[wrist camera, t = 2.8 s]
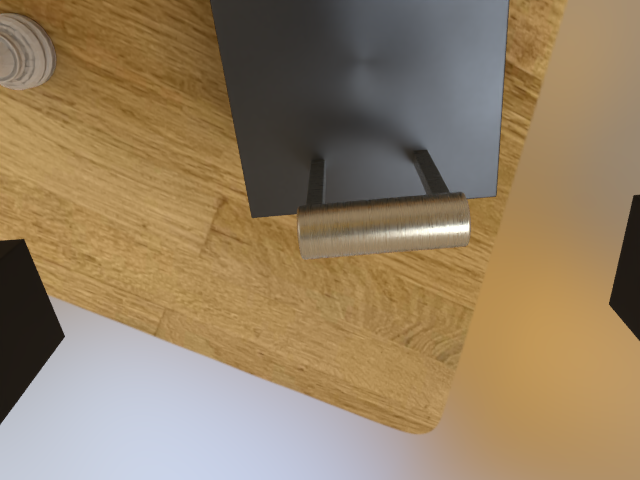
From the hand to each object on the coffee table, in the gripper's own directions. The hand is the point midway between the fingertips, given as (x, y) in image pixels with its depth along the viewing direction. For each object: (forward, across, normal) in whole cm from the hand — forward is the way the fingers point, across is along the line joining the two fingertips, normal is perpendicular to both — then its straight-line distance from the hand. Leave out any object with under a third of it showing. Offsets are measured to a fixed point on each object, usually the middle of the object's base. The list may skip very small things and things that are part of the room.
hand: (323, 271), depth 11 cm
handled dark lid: (+15, +2, +2) cm, 15 cm away
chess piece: (+24, -19, +3) cm, 31 cm away
